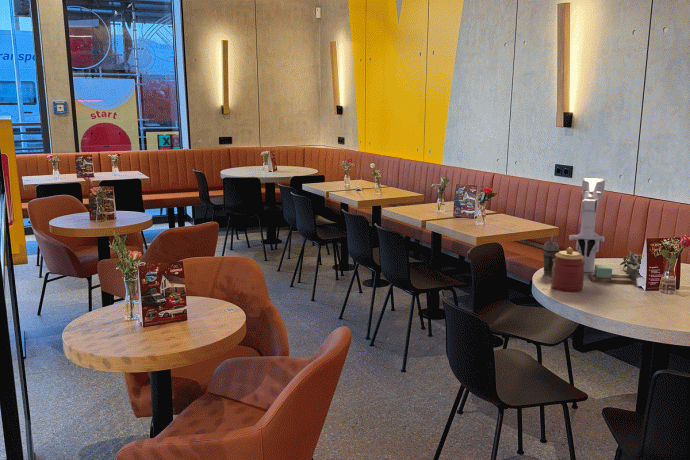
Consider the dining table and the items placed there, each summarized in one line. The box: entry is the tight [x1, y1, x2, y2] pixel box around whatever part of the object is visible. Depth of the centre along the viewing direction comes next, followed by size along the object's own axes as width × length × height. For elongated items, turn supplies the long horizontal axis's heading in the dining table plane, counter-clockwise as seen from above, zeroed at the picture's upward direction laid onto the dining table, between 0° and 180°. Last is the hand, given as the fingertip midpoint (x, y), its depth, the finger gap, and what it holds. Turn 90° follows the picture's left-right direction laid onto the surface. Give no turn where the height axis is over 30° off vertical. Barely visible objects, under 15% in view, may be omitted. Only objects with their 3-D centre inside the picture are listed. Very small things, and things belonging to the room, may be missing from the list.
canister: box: [550, 246, 585, 293], centre depth 253 cm, size 13×13×18 cm
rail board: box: [587, 263, 638, 285], centre depth 266 cm, size 18×10×6 cm, turn 80°
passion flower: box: [619, 250, 643, 274], centre depth 280 cm, size 11×11×12 cm
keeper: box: [593, 264, 613, 278], centre depth 266 cm, size 6×6×4 cm
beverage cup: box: [542, 231, 560, 277], centre depth 273 cm, size 7×7×20 cm
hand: (585, 256), depth 266 cm, fingers closed
